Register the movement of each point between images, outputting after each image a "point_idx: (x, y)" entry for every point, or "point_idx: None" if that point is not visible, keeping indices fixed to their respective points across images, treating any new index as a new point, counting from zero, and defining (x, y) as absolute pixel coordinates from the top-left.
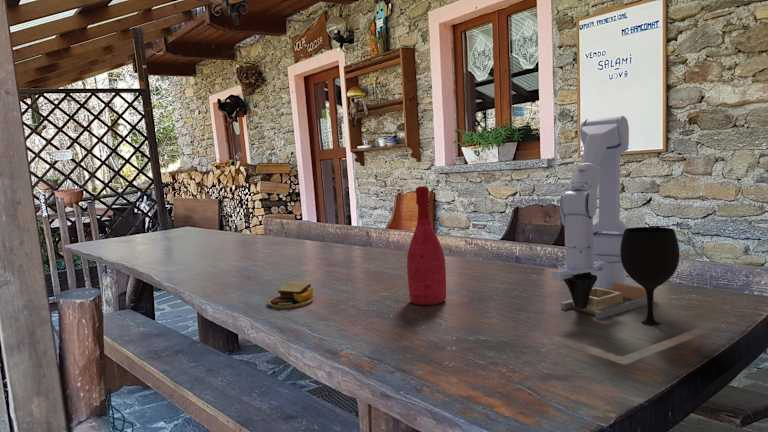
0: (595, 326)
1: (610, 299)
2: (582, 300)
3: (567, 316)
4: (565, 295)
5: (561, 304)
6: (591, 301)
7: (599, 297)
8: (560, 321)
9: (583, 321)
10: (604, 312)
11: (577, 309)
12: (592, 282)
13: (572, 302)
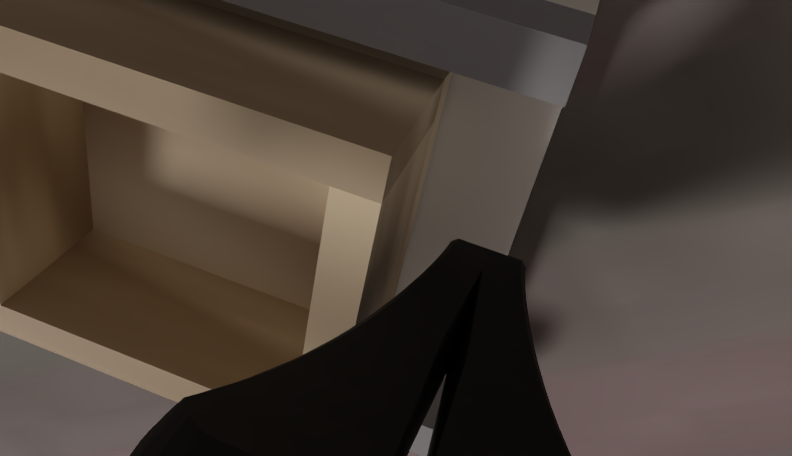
0: (716, 6)
1: (176, 57)
2: (527, 328)
3: None
4: (60, 431)
5: None
6: (385, 235)
7: (64, 222)
8: (698, 346)
9: (587, 174)
10: (482, 6)
11: None
12: (315, 423)
13: None
